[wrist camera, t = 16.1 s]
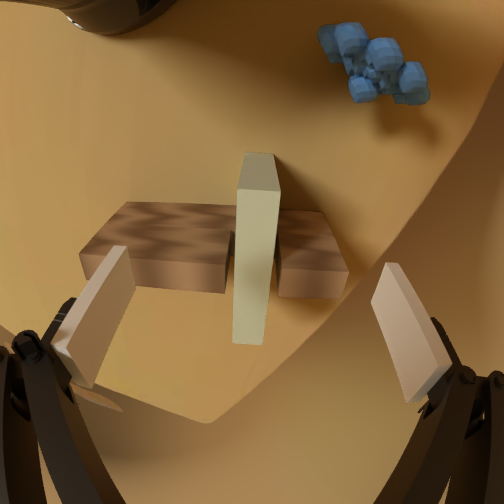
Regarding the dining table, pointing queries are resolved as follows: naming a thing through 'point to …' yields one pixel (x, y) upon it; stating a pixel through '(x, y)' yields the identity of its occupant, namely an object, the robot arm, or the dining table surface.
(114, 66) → the dining table surface
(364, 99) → the grapes
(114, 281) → the robot arm
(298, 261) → the slotted board
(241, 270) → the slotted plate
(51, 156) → the dining table surface
